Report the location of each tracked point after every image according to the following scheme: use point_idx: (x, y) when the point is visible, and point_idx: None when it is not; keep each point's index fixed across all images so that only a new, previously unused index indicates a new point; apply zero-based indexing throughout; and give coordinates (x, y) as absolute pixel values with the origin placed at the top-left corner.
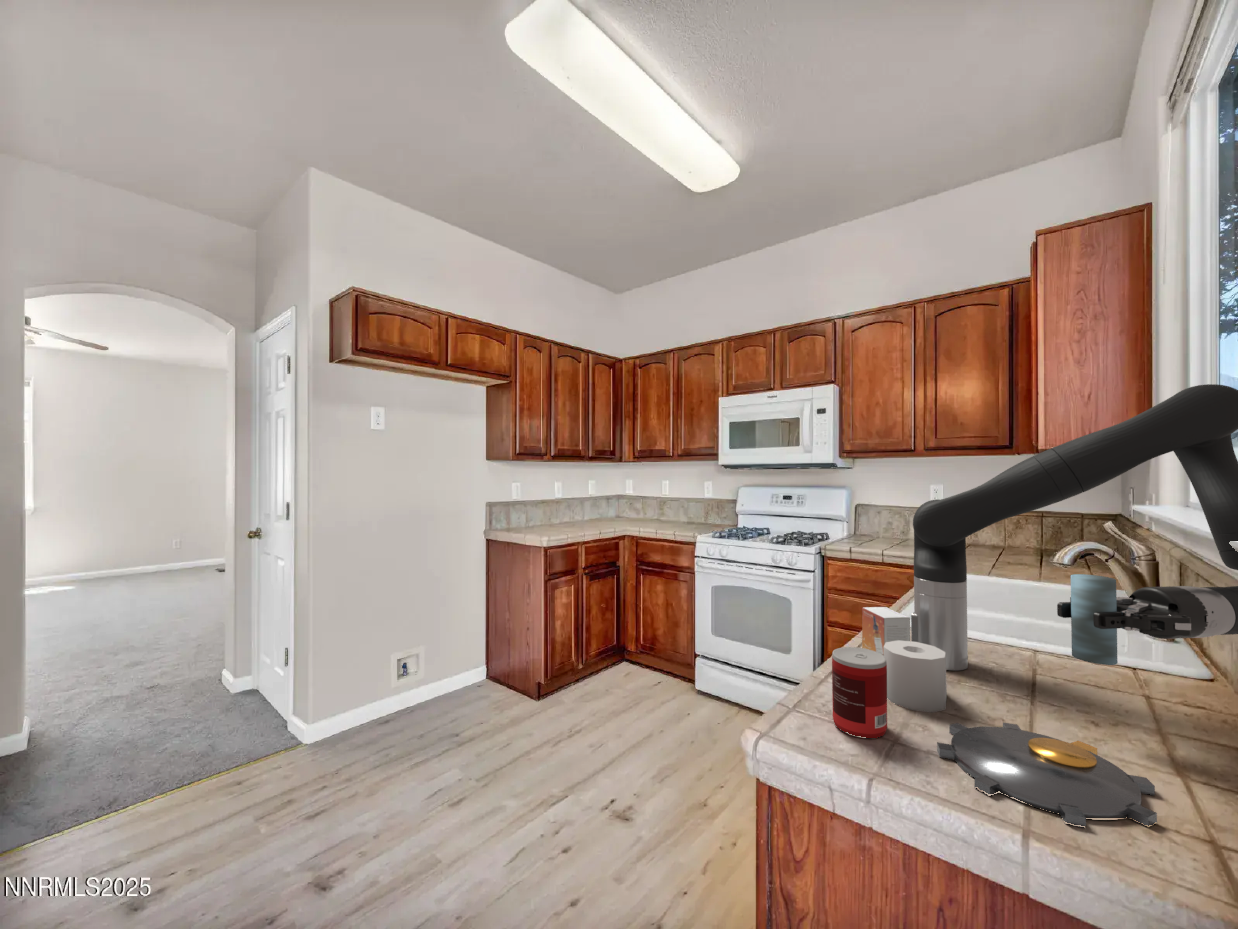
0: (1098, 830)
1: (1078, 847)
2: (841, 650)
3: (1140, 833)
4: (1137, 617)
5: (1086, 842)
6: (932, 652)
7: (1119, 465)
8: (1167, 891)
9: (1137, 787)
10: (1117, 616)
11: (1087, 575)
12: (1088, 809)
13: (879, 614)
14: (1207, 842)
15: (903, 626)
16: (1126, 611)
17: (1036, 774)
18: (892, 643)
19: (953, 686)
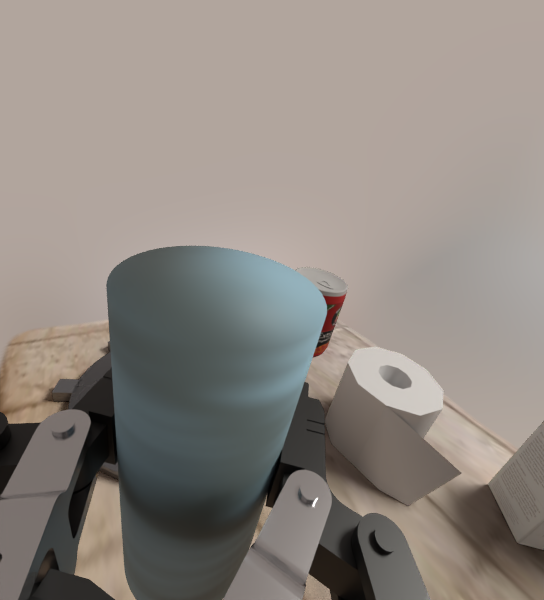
0: (99, 355)
1: (107, 330)
2: (339, 280)
3: (68, 375)
4: (17, 445)
5: (104, 337)
6: (382, 387)
7: None
8: (49, 330)
9: None
10: (101, 389)
11: (282, 313)
12: (109, 353)
13: None
14: (4, 410)
15: None
16: (66, 416)
17: None
18: (422, 372)
19: (436, 556)
